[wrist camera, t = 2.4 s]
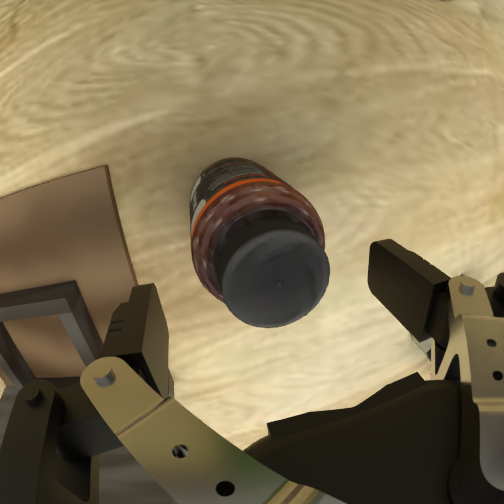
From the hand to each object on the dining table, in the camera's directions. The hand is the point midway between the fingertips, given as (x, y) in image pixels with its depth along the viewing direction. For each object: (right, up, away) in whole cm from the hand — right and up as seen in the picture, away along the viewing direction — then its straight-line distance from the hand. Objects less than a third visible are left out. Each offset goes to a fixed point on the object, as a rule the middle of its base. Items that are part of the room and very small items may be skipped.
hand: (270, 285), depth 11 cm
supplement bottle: (-2, +5, +10) cm, 11 cm away
